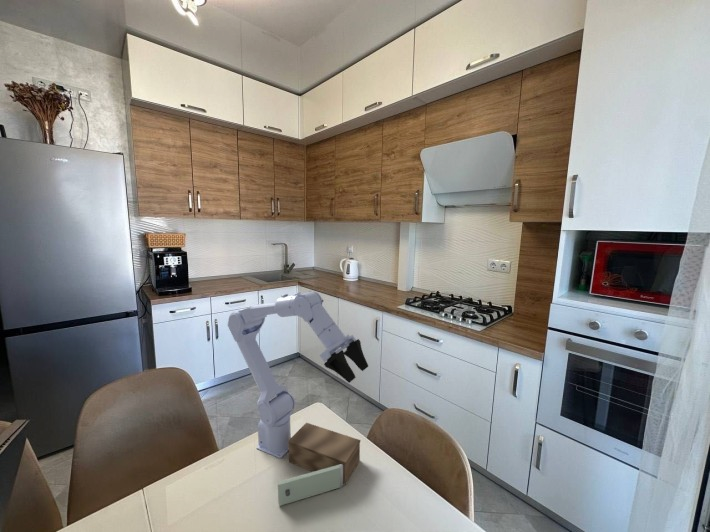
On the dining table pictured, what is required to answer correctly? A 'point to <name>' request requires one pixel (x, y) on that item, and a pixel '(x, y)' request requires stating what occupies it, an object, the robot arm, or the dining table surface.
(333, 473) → the door
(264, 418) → the robot arm
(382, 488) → the dining table surface
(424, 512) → the dining table surface
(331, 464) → the cabinet
